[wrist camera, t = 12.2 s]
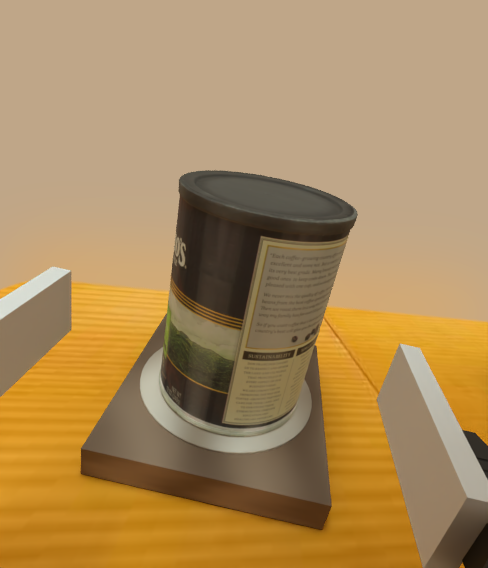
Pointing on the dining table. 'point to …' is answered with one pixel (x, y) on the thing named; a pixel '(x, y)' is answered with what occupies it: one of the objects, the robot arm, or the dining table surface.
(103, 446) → the plate
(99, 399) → the dining table surface
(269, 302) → the coffee can
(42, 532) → the dining table surface
